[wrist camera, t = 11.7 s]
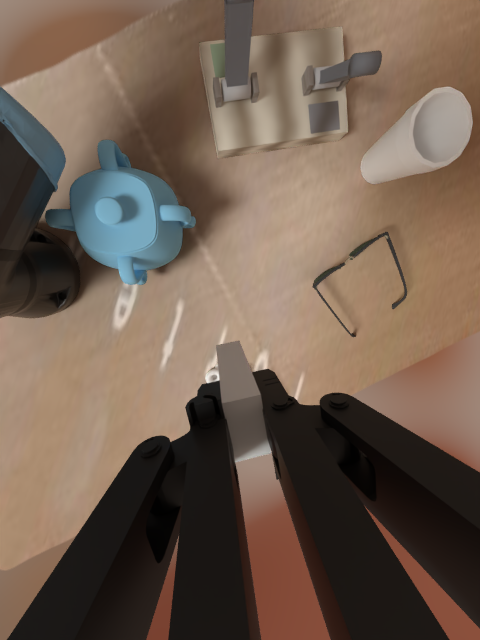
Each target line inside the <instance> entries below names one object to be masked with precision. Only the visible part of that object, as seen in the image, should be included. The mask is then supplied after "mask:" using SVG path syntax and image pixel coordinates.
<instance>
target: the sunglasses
mask: <svg viewBox="0 0 480 640" xmlns="http://www.w3.org/2000/svg"><path fill="white" fill-rule="evenodd" d="M387 234H388V232H385V233H382V234H380V235H378V237H376V238H374V239H371V240H369V241H367V242H366V243H364V244H362V245H361V246H359V247H358V248H356V249H355V250H354V251H353V252H351V253H350V255H349V258H348V259H351V260H353V258H355V257H356V256H357V255H359V254H360V253H361V252H362V251H363V250H364V249H366V248H367V247H368V246H369V245H371V244H372V243H373V242H375V241H376V240H378V239H379V238H381V237H383V236H384V237H386V239H387V242H388V244H389V247H390V249H391V252H392V254H393V257H394V259H395V262H396V265H397V267H398V270H399V273H400V276H401V279H402V282H403V285H404V289H405V295H404V297H403V298H402V299H401V300H400V301H398V302H397V303H395V304H392V309H395V307H397V306H398V305H399V304H400V303H401V302H402V301H403V300H404V299H405V298H406V296H407V289H406V284H405V280H404V277H403V273H402V270H401V267H400V264H399V262H398V259H397V256H396V253H395V250H394V248H393V245H392V242H391V240H390V237H389V234H388V235H387ZM348 259H347V260H348ZM347 260H346V261H345V263H342V264H340V265H339V266H336V267H333V268H331V269H329V270H327V271H326V272H324V273H322V274H321V275H320V276H319V277H317V278H316V279H315V280H314V283H313V288H314V289H315V290H316V291H317V293H318V294H319V296H320V297H321V298H322V300H323V301H324V302H325V304H326V305H327V306H328V307H329V309H330V310H331V311H332V313H333V314H334V315H335V317H336V318H337V319H338V321H339V322H340V323H341V324H342V326H343V327H344V328H345V329H346V331H347V332H348V333H349V334H350V335H351V336H352V337H356V336H355V335H354V334H353V333H352V334H351V333H350V332H349V331H348V330H347V328H346V327H345V326H344V325H343V323H342V322H341V321H340V319H339V318H338V317H337V315H336V314H335V313H334V311H333V310H332V309H331V307H330V306H329V305H328V303H327V302H326V301H325V299H324V298H323V296H322V295H321V294H320V292H319V291H318V289H317V285H318V284H319V283H320V282H321V281H322V280H324V279H325V278H326V277H327V276H329V275H330V274H331V273H333V272H334V271H336V270H337V269H340V268H341V267H342V266H344V265H345V264H346V262H347Z"/></svg>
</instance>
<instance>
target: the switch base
mask: <svg viewBox="0 0 480 640" xmlns="http://www.w3.org/2000/svg"><path fill="white" fill-rule="evenodd" d="M199 51H200V63H201V68H202V74H203V80H204V85H205V91H206V96H207V102H208V108H209V113H210V119H211V124H212V130H213V136H214V141H215V147H216V152H217V158H218V159H220V158H226V157H233V156H240V155H246V154H253V153H259V152H266V151H273V150H279V149H286V148H292V147H299V146H306V145H312V144H319V143H325V142H332V141H339V140H340V139H341V138H342V137H343V136H344V135H345V134H346V133H347V132H348V119H347V101H346V84H347V83H348V82H349V80H350V78H349V79H346V80H342V81H341V83H340V85H339V86H338V87H332V88H324V89H317V90H312V88H313V86H314V76H313V68H317V67H325V66H333V65H336V64H339V63H341V62H344V49H343V31H342V26H341V27H332V28H323V29H314V30H305V31H296V32H287V33H278V34H269V35H260V36H251V45H250V58H249V72H248V76H249V77H250V81H251V97H250V98H249V99H241V100H234V101H226V102H224V101H223V98H222V91H221V79H225V39H224V40H215V41H206V42H199Z"/></svg>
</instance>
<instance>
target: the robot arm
mask: <svg viewBox="0 0 480 640" xmlns="http://www.w3.org/2000/svg"><path fill="white" fill-rule="evenodd" d="M65 162H66V158H65V155H64V151H63V149H62V148H61V146H60V144H59V143H58V141H57V140H56V139H55V138H54V137H53V135H52V134H51V133H50V132H49V131H48V130H47V129H46V128H45V127H44V126H43V125H42V124H41V123H40V122H39V121H38V120H37V119H36V118H35V117H34V116H33V115H32V114H31V113H29V112H28V111H27V110H26V109H25V108H24V107H23V106H22V105H21V104H20V103H19V102H17V101H16V100H15V99H14V98H13V97H12V96H11V95H10V94H8V93H7V92H6V91H5V90H4V89H3V88H1V87H0V318H1V317H5V316H13V317H22V318H40V317H45V316H49V315H52V314H55V313H58V312H60V311H62V310H63V309H65V308H66V307H68V306H69V305H70V304H71V303H72V302H73V300H74V299H75V297H76V295H77V293H78V291H79V287H80V270H79V266H78V263H77V261H76V259H75V257H74V255H73V254H72V252H71V251H70V249H69V248H68V247H67V246H66V245H65V244H64V243H63V242H62V241H61V240H60V239H58V238H57V237H55V236H54V235H52V234H50V233H48V232H46V231H44V230H41V229H38V228H36V226H37V224H38V222H39V220H40V218H41V216H42V214H43V211H44V209H45V207H46V205H47V203H48V201H49V199H50V197H51V195H52V193H53V192H56V191H57V189H58V185H57V183H58V181H59V178H60V176H61V174H62V171H63V169H64V166H65ZM216 349H217V359H218V369H219V381H215V382H211V383H206V384H202V385H201V387H200V388H199V389H198V394H197V396H196V397H195V398H193V399H191V400H190V401H189V402H188V403H187V405H186V407H185V408H186V412H187V416H188V419H189V423H190V431H189V432H188V433H187V434H185V435H184V436H182V437H180V438H178V439H176V440H174V441H172V442H170V440H169V438H167V437H166V436H155V437H151V438H149V439H147V440H145V441H144V442H142V443H141V444H139V445H138V446H137V447H136V449H135V450H134V451H133V452H132V454H131V455H130V457H129V458H128V460H127V461H126V463H125V464H124V466H123V467H122V469H121V470H120V472H119V473H118V475H117V476H116V478H115V479H114V481H113V482H112V484H111V485H110V487H109V488H108V490H107V491H106V493H105V494H104V496H103V497H102V499H101V500H100V502H99V503H98V505H97V506H96V508H95V509H94V511H93V512H92V514H91V515H90V517H89V518H88V520H87V521H86V522H85V524H84V525H83V527H82V528H81V530H80V531H79V533H78V534H77V536H76V537H75V539H74V541H73V542H72V543H71V545H70V546H69V548H68V549H67V551H66V553H65V554H64V555H63V557H62V558H61V560H60V561H59V563H58V564H57V566H56V567H55V569H54V570H53V572H52V573H51V575H50V577H49V578H48V579H47V581H46V582H45V584H44V585H43V587H42V588H41V590H40V591H39V593H38V594H37V596H36V597H35V599H34V600H33V602H32V603H31V605H30V606H29V608H28V609H27V611H26V612H25V614H24V615H23V617H22V618H21V620H20V621H19V623H18V624H17V626H16V627H15V629H14V630H13V632H12V633H11V635H10V636H9V638H8V639H7V640H146V638H147V635H148V632H149V629H150V625H151V622H152V619H153V616H154V613H155V609H156V606H157V603H158V600H159V597H160V593H161V590H162V587H163V584H164V580H165V577H166V574H167V571H168V567H169V565H170V561H171V558H172V555H173V552H174V548H175V545H176V542H177V539H178V536H179V542H178V551H177V561H176V571H175V581H174V591H173V600H172V609H171V619H170V629H169V639H168V640H261V635H260V628H259V621H258V614H257V607H256V600H255V593H254V586H253V579H252V572H251V565H250V558H249V551H248V544H247V537H246V530H245V523H244V516H243V509H242V502H241V495H240V488H239V481H238V474H237V469H236V465H235V462H239V461H243V460H246V459H250V458H254V457H258V456H262V455H266V454H270V453H271V451H272V456H273V461H274V467H275V473H276V478H277V479H279V481H280V484H281V487H282V490H283V493H284V497H285V500H286V502H287V505H288V509H289V512H290V515H291V518H292V521H293V524H294V527H295V530H296V534H297V537H298V540H299V543H300V546H301V549H302V552H303V555H304V558H305V562H306V565H307V568H308V570H309V574H310V577H311V580H312V583H313V586H314V589H315V592H316V595H317V599H318V602H319V605H320V608H321V611H322V614H323V617H324V620H325V623H326V627H327V629H328V632H329V636H330V639H331V640H449V638H448V637H447V635H446V633H445V632H444V630H443V629H442V627H441V626H440V624H439V622H438V621H437V619H436V618H435V616H434V615H433V613H432V611H431V610H430V608H429V607H428V605H427V604H426V602H425V601H424V599H423V597H422V596H421V594H420V593H419V591H418V590H417V588H416V587H415V585H414V583H413V582H412V580H411V579H410V577H409V576H408V574H407V572H406V571H405V569H404V568H403V566H402V564H401V563H400V561H399V560H398V558H397V557H396V555H395V554H394V552H393V550H392V549H391V547H390V546H389V544H388V542H387V541H386V539H385V538H384V536H383V535H382V533H381V532H380V530H379V528H378V527H377V525H376V524H375V522H374V521H373V519H372V518H371V516H370V514H369V513H368V511H367V510H366V508H367V509H368V510H369V511H370V512H371V513H372V514H373V515H374V516H375V517H376V518H377V519H378V521H379V522H380V523H382V525H383V526H384V527H385V528H386V529H387V530H388V531H389V532H390V533H391V534H392V535H393V536H394V538H395V539H396V540H397V541H398V542H399V543H400V544H401V545H402V546H403V547H404V548H405V549H406V550H407V551H408V552H409V554H411V556H412V557H413V558H414V559H415V560H416V561H417V562H418V563H419V564H420V565H421V566H422V567H423V568H424V570H425V571H426V572H427V573H428V574H429V575H430V576H431V577H432V578H433V579H434V580H435V581H436V582H437V583H438V584H439V585H440V587H441V588H442V589H443V590H444V591H445V592H446V593H447V594H448V595H449V596H450V597H451V598H452V599H453V600H454V602H455V603H456V604H457V605H458V606H459V607H460V608H461V609H462V610H463V611H464V612H465V613H466V614H467V615H468V616H469V618H470V619H471V620H472V621H473V622H474V623H475V624H476V625H477V626H478V627H479V628H480V472H478V471H476V470H475V469H473V468H471V467H470V466H468V465H466V464H464V463H463V462H461V461H459V460H458V459H456V458H454V457H453V456H451V455H449V454H448V453H446V452H444V451H443V450H441V449H439V448H438V447H436V446H434V445H433V444H431V443H429V442H428V441H426V440H424V439H423V438H421V437H419V436H418V435H416V434H414V433H413V432H411V431H409V430H407V429H406V428H404V427H402V426H401V425H399V424H398V423H396V422H394V421H393V420H391V419H389V418H388V417H386V416H384V415H382V414H381V413H379V412H377V411H376V410H374V409H372V408H371V407H369V406H367V405H366V404H364V403H362V402H361V401H359V400H357V399H356V398H354V397H352V396H350V395H348V394H344V393H330V394H326V395H325V396H323V397H322V398H321V400H320V405H301V404H299V403H298V401H297V400H296V399H295V398H294V397H291V396H289V395H288V394H287V392H286V391H285V389H284V387H283V386H282V384H281V382H280V381H279V379H278V378H277V376H276V374H275V372H273V371H271V370H269V369H265V370H260V371H256V372H252V371H251V369H250V366H249V364H248V361H247V359H246V356H245V354H244V351H243V349H242V346H241V344H240V341H235V342H230V343H225V344H221V345H216ZM270 448H271V450H270ZM365 507H366V508H365Z"/></svg>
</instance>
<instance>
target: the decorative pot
mask: <svg viewBox="0 0 480 640" xmlns="http://www.w3.org/2000/svg"><path fill="white" fill-rule="evenodd" d="M98 156H99V161H100V165H101V168H102V169H99V170H95V171H92V172H89V173H87V174H85V175H83V176H81V177H79V178H78V179H77V180H75V181H74V183H73V184H72V186H71V188H70V209H50V210H47V211H46V213H45V219H46V222H47V224H48V225H49V226H50V227H53V228H59V229H65V230H70V231H76V234H77V237H78V239H79V241H80V244H81V246H82V247H83V249H84V250H85V252H86V253H87V254H88V255H89V256H90V257H92V258H93V259H94V260H96V261H97V262H99V263H101V264H103V265H106V266H109V267H112V268H116V269H119V274H120V277H121V279H122V281H123V282H124V283H126V284H130V285H133V284H139V285H143V284H145V283H146V281H147V271H146V270H151V269H155V268H158V267H161V266H163V265H165V264H167V263H169V262H171V261H172V260H173V259H174V258H175V257H176V256H177V255H178V253H179V252H180V249H181V246H182V238H183V228H193V227H194V226H195V224H196V219H195V217H194V216H191V212H190V210H189V209H188V208H187V207H185V206H179V204H178V200H177V197H176V196H175V194H174V192H173V190H172V189H171V188H170V186H169V185H168V184H167V183H166V182H165V181H163V180H162V179H160V178H159V177H157V176H155V175H153V174H151V173H148V172H145V171H142V170H139V169H135V168H131V164H130V161H129V158H128V157H127V155H125V154H123V153H122V152H121V150H120V149H119V147H118V145H117V144H116V143H115V142H114V141H112V140H102V141H100V142H99V143H98Z"/></svg>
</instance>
